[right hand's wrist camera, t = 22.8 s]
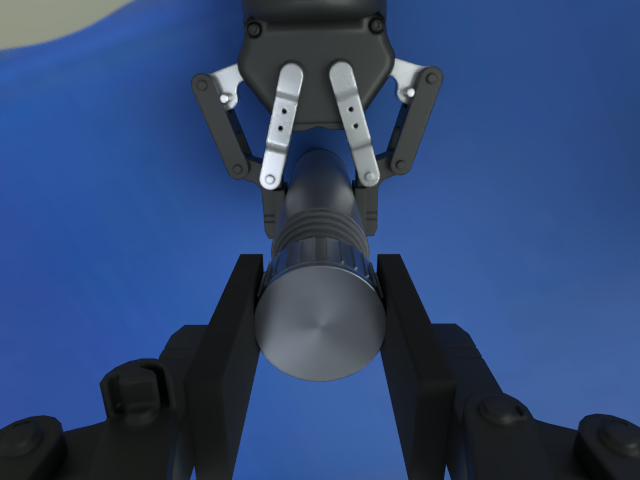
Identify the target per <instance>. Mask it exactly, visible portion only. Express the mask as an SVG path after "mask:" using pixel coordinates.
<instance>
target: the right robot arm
mask: <svg viewBox="0 0 640 480" xmlns="http://www.w3.org/2000/svg"><path fill="white" fill-rule="evenodd" d="M263 273H264V272H263V254H240V256H239V259H238V261H237V263H236V265H235V267H234V270H233V272H232V274H231V276H230V278H229V281H228V283H227V285H226V287H225V289H224V292H223V294H222V296H221V298H220V300H219V303H218V305H217V307H216V309H215V311H214V314H213V316H212V318H211V320H210V322H209V325H184V326H183V327H182V328H180V329H179V330H178V331H177V332H175V333H174V334H173V335H172V336H171V337H170V339H169V341H168V342H167V344H166V346H165V350H163V351H162V353H161V355H160V356H159V360H158V359H138V360H134V361H129V362H127V363H124V364H122V365H120V366H118V367H116V368H114V369H113V370H112V371H110V372H109V373H107V374H106V375H105V377H104V378H103V379H102V381H101V382H100V383H99V384H100V388H101V392H102V397H103V401H104V406H105V410H106V415H107V419H106V421H104V422H101V423H98V424H94V425H91V426H87V427H82V428H78V429H74V430H69V431H65V432H63V429H62V425H61V423H60V422H59V421H58V420H57V419H56V418H54V417H50V416H45V415H43V416H33V417H28V418H25V419H22V420H19V421H16V422H14V423H12V424H10V425H8V426H6V427H4V428H2V429H1V430H0V480H190V477H191V474H192V471H193V468H194V465H195V473H196V480H232V476H233V471H234V467H235V462H236V458H237V453H238V449H239V444H240V440H241V435H242V431H243V426H244V421H245V417H246V412H247V408H248V403H249V399H250V394H251V390H252V385H253V381H254V376H255V372H256V367H257V362H258V358H259V353H260V348H259V346H258V344H257V341H256V339H255V327H254V311H255V308H256V304H257V301H258V298H257V294H258V290H259V287H260V283H261V280H262V276H263ZM377 275H378V279H379V282H380V286H381V289H382V293H383V296H384V299H383V303H384V306H385V310H386V331H385V340H384V342H383V344H382V347H381V348H380V352H381V357H382V361H383V366H384V370H385V375H386V379H387V384H388V389H389V393H390V398H391V402H392V407H393V411H394V416H395V420H396V425H397V429H398V434H399V438H400V443H401V448H402V452H403V457H404V461H405V466H406V470H407V475H408V479H409V480H444V475H445V467H446V465H447V468H448V471H449V474H450V477H451V480H640V427H638V426H636V425H634V424H632V423H631V422H629V421H627V420H624V419H621V418H618V417H615V416H612V415H605V414H593V415H588V416H585V417H584V418H583V419H582V420H581V421H580V422H579V426H578V430H574V429H570V428H565V427H561V426H557V425H553V424H548V423H545V422H542V421H539V420H536V419H534V418H533V416H532V415H531V413H530V411H529V410H528V408H527V407H526V406H525V405H523V404H522V403H521V402H520V401H519V400H517V399H515V398H513V397H511V396H509V395H507V394H505V393H503V392H502V390H501V388H500V387H499V385H498V383H497V381H496V380H495V378H494V376H493V375H492V373H491V371H490V369H489V368H488V366H487V364H486V363H485V361H484V359H482V356H481V354H480V352H479V351H478V349H477V348H476V345H475V344H474V342H473V340H472V339H471V337H470V335H469V334H468V333H467V332H466V331H464V330H463V329H462V328H460V327H459V326H458V325H456V324H431V322H430V320H429V317H428V315H427V313H426V311H425V309H424V306H423V304H422V302H421V300H420V298H419V295H418V293H417V291H416V289H415V287H414V284H413V282H412V280H411V278H410V276H409V273H408V271H407V269H406V267H405V265H404V262H403V260H402V258H401V256H400V254H378V258H377Z"/></svg>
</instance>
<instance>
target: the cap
mask: <svg viewBox="0 0 640 480" xmlns="http://www.w3.org/2000/svg"><path fill="white" fill-rule="evenodd" d="M257 298H258V301H257V304H256V308H255V311H254V327H255V339H256V341H257V344H258V346H259V348H260V350H261V351H262V353H263V354H264V356H265V357H266V358H267V359H268V360H269V361H270V362H271V363H272V364H273V365H274V366H275V367H276V368H278V369H280V370H281V371H283V372H284V373H286V374H288V375H290V376H293V377H296V378H299V379H303V380H308V381H332V380H337V379H341V378H344V377H347V376H350V375H352V374H354V373H356V372H358V371H359V370H361V369H362V368H364V367H365V366H366V365H367V364H369V363H370V362H371V361H372V360H373V358H374V357H375V356H376V355H377V353H378V352H379V350H380V348H381V347H382V344H383V342H384V340H385V331H386V310H385V306H384V303H383V299H384V296H383V293H382V289H381V286H380V282H379V279H378V275H377V273H375V272H374V269H373V266H372V263H371V262H370V263H369V261H368V260H367V259H366V257H365V256H364V254H363V253H361V252H359V251H358V250H357V249H355V248H354V246H351V245H349V244H347V243H344V242H342V241H341V240H335V239H330V238H328V237H326V238H315V237H313V238H310V239H305V240H300V241H299V242H296V243H294V244H292V245H288V246H287V247H286V248H285V249H283V250H282V251H281V252H278V253H277V255H276V257H275V258H274V259H273V260H272V261H270V262H269V265H268V268H267V270H266V272H265V271H264V273H263V276H262V280H261V283H260V287H259V290H258V294H257Z"/></svg>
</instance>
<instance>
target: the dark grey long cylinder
mask: <svg viewBox="0 0 640 480" xmlns="http://www.w3.org/2000/svg"><path fill="white" fill-rule="evenodd" d="M313 237H315V238H326V237H328V238H330V239H335V240H341V241H342V242H344V243H347V244H349V245H351V246H354V248H355V249H357V250H358V251H359V252H361V253H363V254H364V256H365V257H366V259H367V260H369V245H368V241H367V238H366V234H365V231H364V227H363V224H362V220H361V217H360V214H359V210H358V207H357V203H356V200H355V197H354V193H353V190H352V186H351V183H350V180H349V176H348V173H347V169H346V167H345V164H344V163H343V161H342V160H341V159H340V157H339V156H337V155H336V154H334V153H333V152H330V151H327V150H322V149H318V150H313V151H310V152H307V153H306V154H304V155H303V156H302V157H301V158H300V159H299V160H298V161H297V163H296V165H295V167H294V170H293V173H292V177H291V180H290V183H289V187H288V190H287V194H286V197H285V201H284V204H283V207H282V211H281V214H280V218H279V221H278V225H277V228H276V231H275V235H274V238H273V242H272V247H271V258H272V260H273V259H274V258H275V257H276V255H277V253H278V252H281V251H282V250H283V249H285V248H286V247H287V246H288V245H292V244H294V243H296V242H299V241H300V240H305V239H310V238H313Z"/></svg>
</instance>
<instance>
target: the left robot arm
mask: <svg viewBox="0 0 640 480" xmlns="http://www.w3.org/2000/svg"><path fill="white" fill-rule="evenodd" d="M242 8H243V20H244V41H243V45H242V48H241V51H240V53H239V55H238V60H237V64H234V65H231V66H229V67H226V68H224V69H221V70H219V71H216V72H214V73H211V74H206V73H199V74H196V75H195V76H194V77H193V78H192V81H191V88H192V90H193V93H194V95H195V97H196V100H197V102H198V104H199V106H200V109H201V111H202V113H203V116H204V118H205V120H206V123H207V125H208V127H209V130H210V132H211V134H212V136H213V139H214V141H215V143H216V146H217V148H218V150H219V153H220V155H221V157H222V160H223V162H224V164H225V166H226V169H227V171H228V173H229V175H230V176H231V177H232V178H234V179H238V180H239V179H244V180H247V181H250V182H253V183H255V184H257V185H258V186H259V187H260V189H261V192H262V200H263V213H264V225H265V232H266V234H267V236H268V238H269V239H273V238H274V235H275V231H276V228H277V225H278V221H279V218H280V214H281V211H282V207H283V204H284V201H285V197H286V194H287V190H288V187H287V182H284V178H283V174H284V169H285V165H286V161H287V156H288V152H289V148H290V144H291V140H292V135H293V131H305V130H309V129H312V128H315V127H322V128H326V129H330V130H344V132H345V136H346V139H347V142H348V145H349V149H350V152H351V155H352V159H353V162H354V166H355V169H356V170H355V180H352V190H353V193H354V197H355V200H356V203H357V207H358V210H359V214H360V217H361V220H362V224H363V227H364V231H365V234H366V236H374V234H375V232H376V229H377V200H378V187H379V185H380V183H381V182H382V181H383V180H384V179H386V178H389V177H391V176H394V175H404V174H406V173H408V172H409V170H410V169H411V166H412V163H413V161H414V158H415V155H416V152H417V150H418V147H419V144H420V141H421V139H422V136H423V133H424V130H425V128H426V125H427V122H428V119H429V117H430V114H431V111H432V108H433V106H434V103H435V100H436V97H437V95H438V92H439V89H440V86H441V84H442V81H443V74H442V72H441V70H440V69H439V68H437V67H435V66H425V67H422V66H419V65H416V64H413V63H410V62H406V61H403V60H400V59H397V58H395V53H394V50H393V48H392V46H391V44H390V42H389V39H388V36H387V30H386V10H387V0H242ZM389 76H390V77H391V78H392V79H393V80H394V82H395V97H396V99H397V100H398V101H400V102H402V106H401V109H400V112H399V115H398V118H397V121H396V124H395V127H394V130H393V132H392V135H391V138H390V141H389V144H388V147H387V150H386V152H384V153H381V154H379V155H376V156H375V154H374V151H373V147H372V142H371V137H370V134H369V130H368V126H367V123H366V119H365V115H364V112H365V111H366V110H367V108H368V107H369V105H370V104H371V102H372V101H373V99H374V98H375V96H376V95H377V94H378V92H379V91H380V89H381V88H382V86H383V85H384V83H385V82H386V80H387V79H388V78H389ZM244 81H245V83H246V84H247V85H248V86H249V88H250V89H251V90H252V91H253V93H254V94H255V95H256V97H257V98H258V99H259V100H260V102H261V103H262V104H263V106H264V107H265V108H266V109H267V111H268V112H269V113H270V114H271V116H272V117H271V121H270V126H269V131H268V136H267V141H266V149H265V154H264V159H261V158H258V157H255V156H253V155H252V153H251V150H250V148H249V145H248V143H247V141H246V138H245V136H244V133H243V131H242V128H241V126H240V123H239V121H238V118H237V116H236V113H235V111H234V109H233V108H235V107H236V106H238V104H239V102H240V93H239V88H240V85H241V84H242V82H244Z"/></svg>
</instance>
